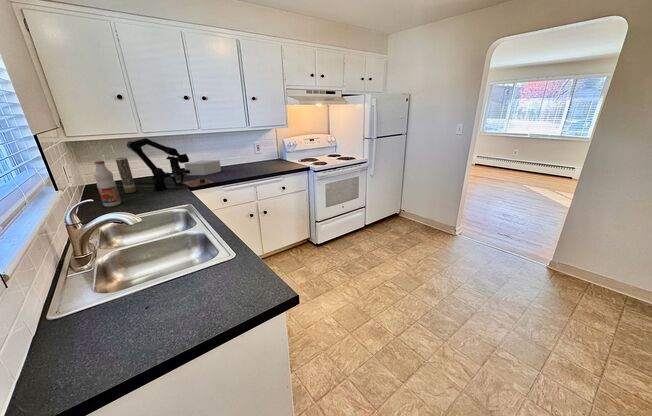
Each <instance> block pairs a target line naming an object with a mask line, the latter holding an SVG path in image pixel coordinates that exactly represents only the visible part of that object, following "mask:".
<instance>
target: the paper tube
mask: <svg viewBox="0 0 652 416" xmlns="http://www.w3.org/2000/svg"><path fill="white" fill-rule="evenodd" d="M128 159H129V158H128V157H117V158H115V163H116V165H117V166H116V167H117V170H118V173H119V176H120V179H121V183H122V186H123V190H124V193H125V194H133V193H136V192H137V188H136V185H135V181H134V177H133V174H132V171H131V167H130V163H129V160H128Z"/></svg>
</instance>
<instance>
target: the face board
mask: <svg viewBox="0 0 652 416" xmlns="http://www.w3.org/2000/svg"><path fill="white" fill-rule="evenodd" d="M199 179H200V178H198V179H193V180H187V181H183V182H182V185H185V186H187V187H190V188H195V187H200V186H204V185H210V184H214V183H215V182H214V181H213V180H210V179H207V178H205V183H200V180H199Z"/></svg>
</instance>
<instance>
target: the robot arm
mask: <svg viewBox="0 0 652 416" xmlns="http://www.w3.org/2000/svg"><path fill="white" fill-rule="evenodd" d="M146 145H147V146H150V147H152V148H155V149H158V150H160V151H162V152H163V153H165V154H166V155H167V157H166V158H165V159H166V160H169V163H170V168H171V172H168V171H166V172H165V171H164V170H163V168H162V167H157V166H156V164H155V163H154V162H153V161H152V160H151V159H150V157H148V156H147V155H146V153H145V151H143V148H142V147H144V146H146ZM126 148H128V149H129V150H130V151H131V152H133V153H134V154H136V155H137V156H138V157H139V158H140V160H141V161H142V162H143V163H144V164H145V165H146V166H147V167H148V168H149V170H150V171H151V173H152V177H151V181H152V182H153V186H154V190H155V191H156V192H158V191H164V190H167V186H166V182H165V179H167V178H171V180H172V181H173V183H174V184H175V185H176V184H177V183H176V181H177V180H176V176H179V179H180V180H179V181H181V182H182V183H183V182H184V177H185V176H187V174H189V173H190V170H188V169H185V167H181V165H180V164H186V163H190V158H189V156H188V155H187V153H181V154H180V153H179V152H178V149H176V148H175V147H170V146H166V145H164V144H161V143H158V142H156V141H153V140H151V139H149V138H146V137H143V138H141V139H140V138H139V139H137V140H129V141H127V142H126ZM175 175H176V176H175Z"/></svg>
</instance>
